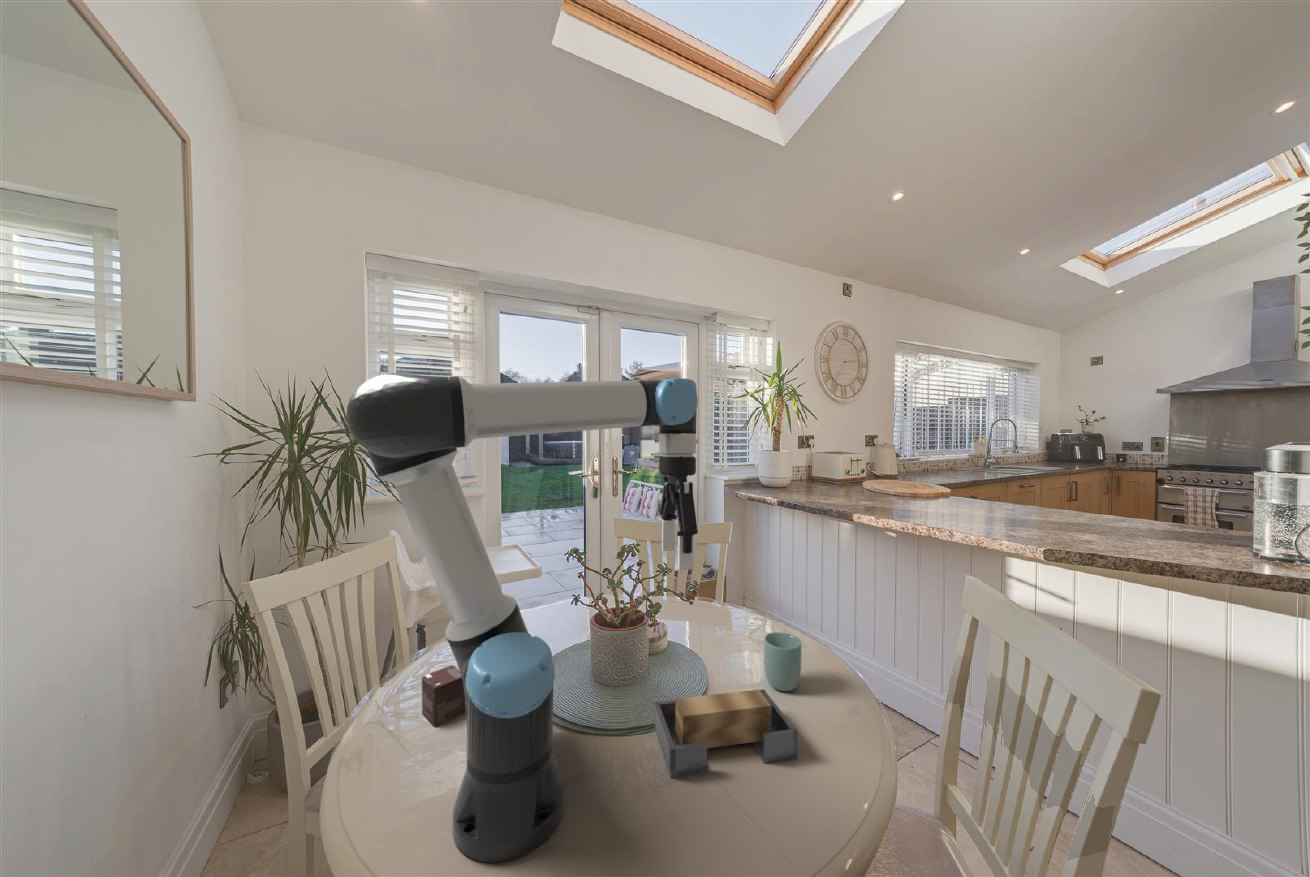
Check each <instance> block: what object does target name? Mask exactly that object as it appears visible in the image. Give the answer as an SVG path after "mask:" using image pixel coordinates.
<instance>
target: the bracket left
mask: <svg viewBox="0 0 1310 877" xmlns="http://www.w3.org/2000/svg"><path fill="white" fill-rule="evenodd" d="M653 709H654V710H653V728H654V731H655V736H656V737H657V741H658V743H659V747H660V751H661V753H662V755H663V759H664V763H665V765H666V769H667V771H668V774H669V778H670V779H674V778H680V777H687V776H692V775H699V774H705V773H707V772H708V769H707V768H708V766H707V765H708V764H707V763H708V748H707V744H706V742H698V743H691V744H684V745H680V743H679V741H678V738H677V735H676V732H675V718H676V699H673V700H671V699H670V700H666V701H665V700H663V701H656V702H654V704H653Z"/></svg>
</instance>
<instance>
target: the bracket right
mask: <svg viewBox="0 0 1310 877" xmlns="http://www.w3.org/2000/svg"><path fill="white" fill-rule="evenodd" d="M759 690H760V691H761V693H762V694H763V695H764V697H765V698H766V699H767V700H768V702H769V703H770V704H771V732H769V733H762V741H758V742H750V743H751V744H752V746H753V748H754V749H755V750H756V752H757V755H758V756H759V757H760V759H761V761H762V762H763V764H770V763H775V762H776V763H777V762H782V761H783V762H784V761H788V760H795V759H798V742H799V741H798V740H799V738H798V734H799V733H798V730H797V729H796V728H795V727H794V726H793V724H792V723H791V722H790V720H789V719H788V718H787V717H786V716H787V715H785V714H784V713H783V711H782V710H781V709H780V708H779V706H778V705H777V704H776V702H775V701H774V700H773V698H771V696H770V695H769V694H768V692H767V691H766V690H765V689H759Z"/></svg>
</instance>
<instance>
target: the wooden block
mask: <svg viewBox="0 0 1310 877" xmlns="http://www.w3.org/2000/svg"><path fill="white" fill-rule="evenodd" d="M760 690H761V689H753V690H751V689H750V690H743V691H735V692H733V691H732V692H724V693H716V694H714V693H713V694H709V695H708V694H706V695H697V696H689V697H688V696H687V697H681V698H675V700H676V718H675V732H676V735H677V738H678V741H679V743H680V745H684V744H691V743H698V742H706V744H707V749H712V748H719V747H727V746H734V745H735V746H736V745H741V744H748V743H751V742H758V741H762V733H769V732H771V704H770V703H769V702H768V700H767V699H766V698H765V697H764V695H763V694H762V693H761V691H760Z"/></svg>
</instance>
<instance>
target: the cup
mask: <svg viewBox="0 0 1310 877" xmlns="http://www.w3.org/2000/svg"><path fill="white" fill-rule="evenodd" d="M802 648H803V647H802V641H801V640H800V639H799V637H797V636H795V635H793V634H790V633H786V632H780V631H779V632H777V631H774V632H769V633H767V634H766V635H765V636H764V643H763V663H764V665H763V666H764V675H765V678H766V681H767V683H768V684H769V685H770V687H772V688H773V689H774V690H777V691H780V692H790V691H793V690H795V689H797V686H798V685H799V683H800V680H801V679H800V678H801V672H802V655H803V654H802V652H803V651H802Z"/></svg>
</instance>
